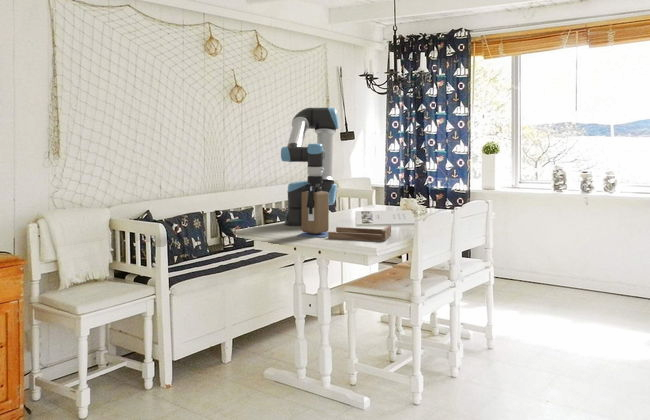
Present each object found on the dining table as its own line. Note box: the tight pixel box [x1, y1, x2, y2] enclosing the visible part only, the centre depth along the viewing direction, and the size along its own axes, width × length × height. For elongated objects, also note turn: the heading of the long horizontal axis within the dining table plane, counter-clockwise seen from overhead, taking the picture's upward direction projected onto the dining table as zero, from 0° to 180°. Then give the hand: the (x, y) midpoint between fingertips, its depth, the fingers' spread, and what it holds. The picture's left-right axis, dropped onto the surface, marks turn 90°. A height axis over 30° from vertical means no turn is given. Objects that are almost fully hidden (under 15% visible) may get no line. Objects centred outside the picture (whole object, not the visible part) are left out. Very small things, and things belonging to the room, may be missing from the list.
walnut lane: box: [327, 225, 392, 242], centre depth 309 cm, size 16×28×5 cm, turn 74°
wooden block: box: [301, 191, 330, 234], centre depth 314 cm, size 10×10×20 cm
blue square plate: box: [297, 231, 329, 239], centre depth 315 cm, size 14×14×1 cm
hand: (315, 218), depth 314 cm, fingers closed on wooden block, 12 cm apart
